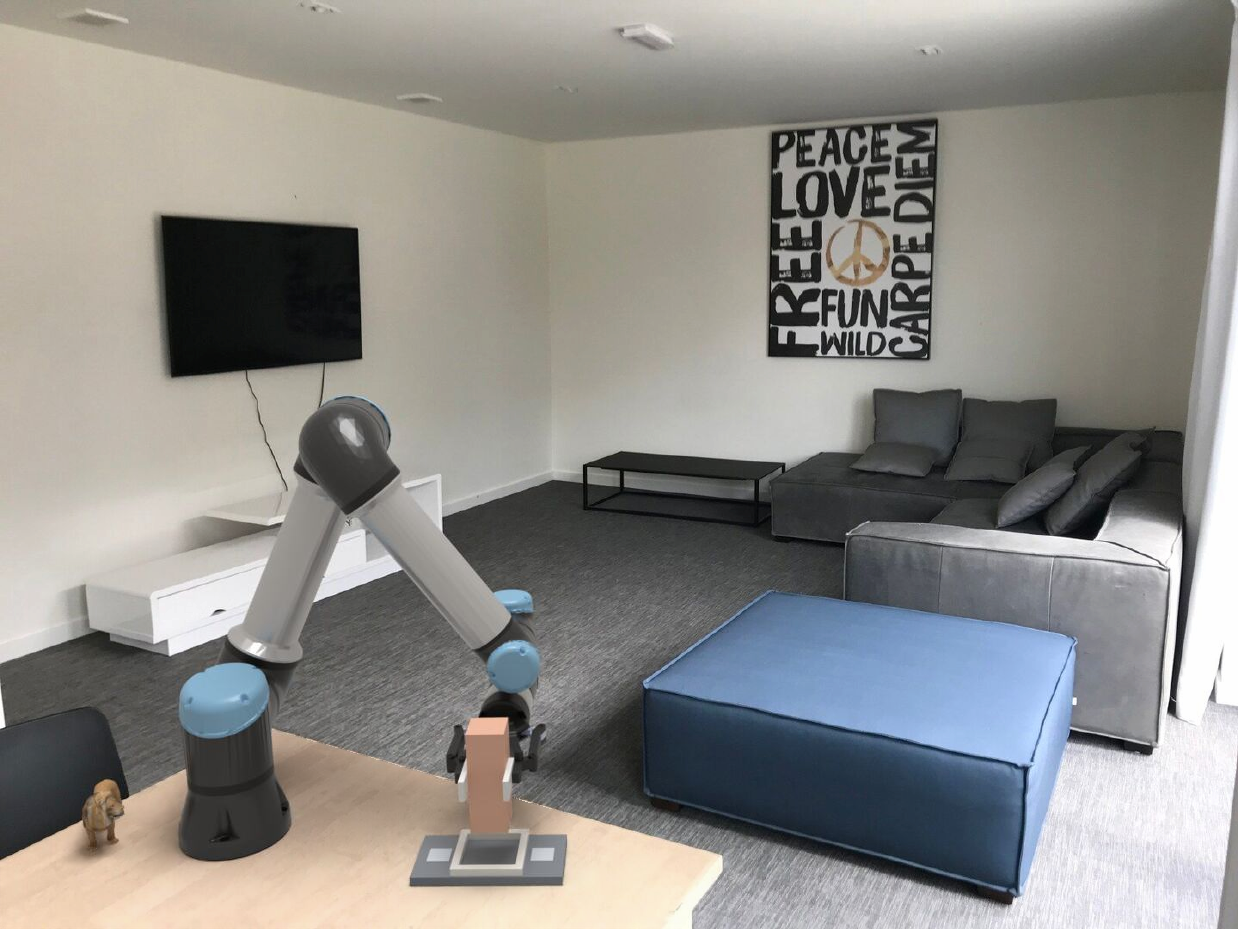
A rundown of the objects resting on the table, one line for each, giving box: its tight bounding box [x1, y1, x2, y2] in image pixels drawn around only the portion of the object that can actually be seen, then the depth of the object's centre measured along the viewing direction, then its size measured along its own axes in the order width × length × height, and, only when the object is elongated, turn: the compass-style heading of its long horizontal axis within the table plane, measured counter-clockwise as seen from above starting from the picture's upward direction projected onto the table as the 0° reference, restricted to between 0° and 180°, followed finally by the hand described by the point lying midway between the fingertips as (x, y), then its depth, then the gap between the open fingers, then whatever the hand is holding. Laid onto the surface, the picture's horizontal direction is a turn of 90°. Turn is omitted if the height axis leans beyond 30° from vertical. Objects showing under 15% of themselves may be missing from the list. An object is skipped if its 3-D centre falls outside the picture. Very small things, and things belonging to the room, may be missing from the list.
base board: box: [409, 828, 568, 887], centre depth 134 cm, size 20×10×2 cm, turn 89°
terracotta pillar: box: [465, 717, 513, 833], centre depth 131 cm, size 5×5×14 cm
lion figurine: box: [81, 778, 125, 852], centre depth 141 cm, size 15×5×9 cm, turn 29°
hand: (483, 791), depth 126 cm, fingers closed on terracotta pillar, 5 cm apart
